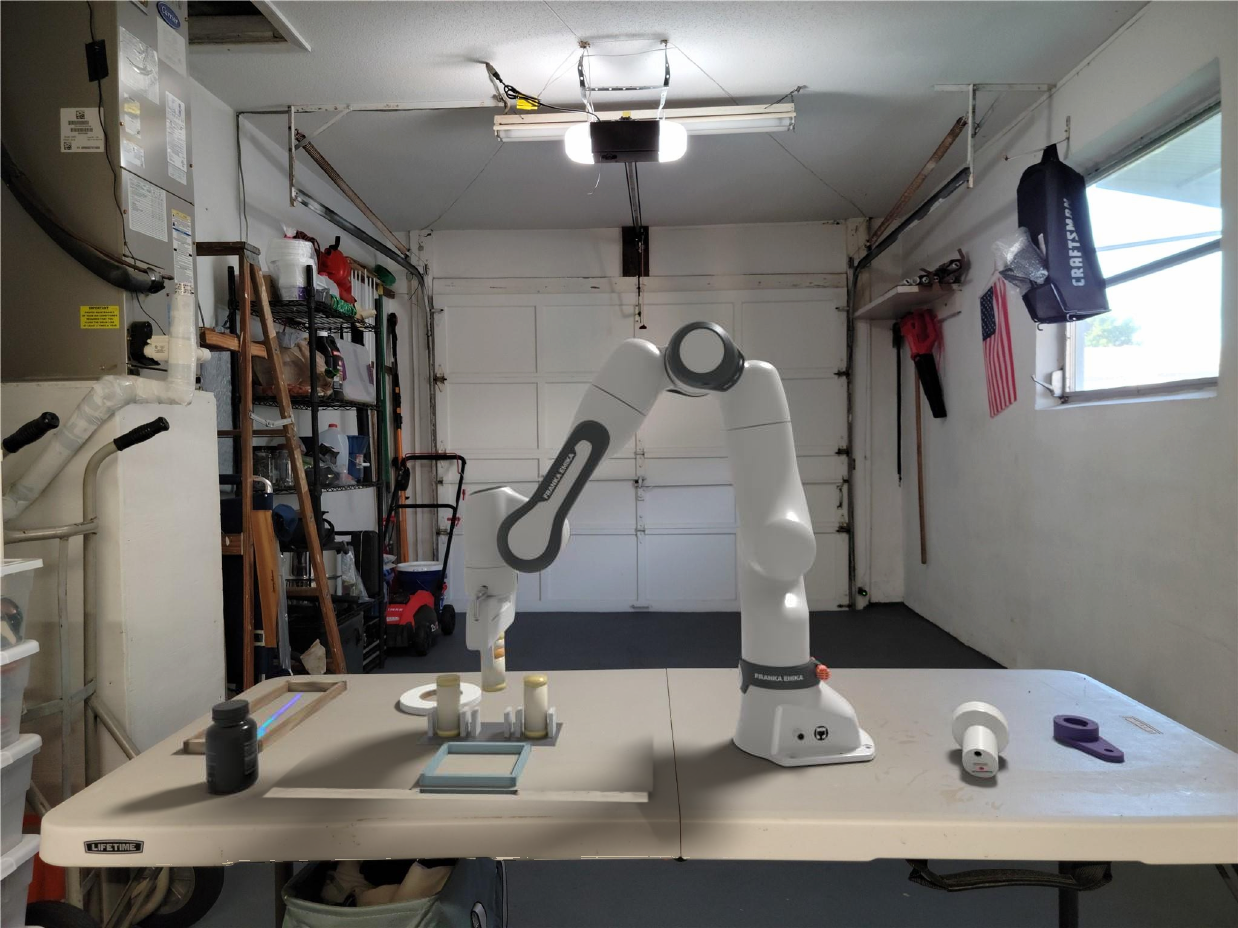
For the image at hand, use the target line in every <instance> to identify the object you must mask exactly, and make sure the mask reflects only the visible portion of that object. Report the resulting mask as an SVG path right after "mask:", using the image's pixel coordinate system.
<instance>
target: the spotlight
mask: <svg viewBox="0 0 1238 928" xmlns="http://www.w3.org/2000/svg"><path fill="white" fill-rule="evenodd" d="M1009 731H1010V730H1009V723H1008V721H1007V719H1006V717H1005V715H1004V714H1003V713H1002V712H1001V711H1000V710H999V709H997V708H996V707H995V706H993V705H991V704H990V703H989V704H988V703H986V702H981V701H975V700H974V701H973V700H972V701H969V702H964V703H962V704H961V705H959V706H957V707H956V708H955V710H954V712H953V714H952V715H951V735H952V737H953V739H954V741H955V743H956V744H957V746H959V748H961V749H962V765H963V767H964V769H965V770H966V771H967V772H968V773H969V774H970V775H973V777H980V778H984V779H987V778H992V777H994V776H995V775H996V774H997V772H998V771H999V756H998V755H999V754H1002V753H1003V752H1004V751H1005V750H1006V748H1007V747H1008V745H1009V743H1010V741H1009V737H1010V736H1009V735H1010V733H1009Z"/></svg>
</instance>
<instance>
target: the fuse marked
mask: <svg viewBox="0 0 1238 928" xmlns="http://www.w3.org/2000/svg"><path fill="white" fill-rule="evenodd" d="M493 649H494V655H495V665H494V666H493V668H484V667H483V658H482V655H481V654H480V670H481V671H480V674H481V676H480V677H481V692H485V693H497V692H501V691H504V690H505V689H506V657H505V656H506V654H505V653H506V652H505V631H503V633H502V634H501V636H500V637H499V638H498V639H497V640H496V641H495V642H494V647H493Z"/></svg>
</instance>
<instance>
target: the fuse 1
mask: <svg viewBox="0 0 1238 928" xmlns="http://www.w3.org/2000/svg"><path fill="white" fill-rule="evenodd" d="M435 682H436V695H435V696H436V701H437V735H438V736H439V737H443V738H448V737H454V736H457V735H459V734H460V712H461V711H462V710H461V693H460V682H461V675H460V674H457V673H447V674H441V675H439V676H437V677H436V679H435Z"/></svg>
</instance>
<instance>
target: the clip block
mask: <svg viewBox="0 0 1238 928" xmlns="http://www.w3.org/2000/svg"><path fill="white" fill-rule="evenodd" d="M506 707H507V708H506V709H505V711H504V712H503V721H481V719H482V718H481V715H482V714H481V706H475V707H474V708H473V710H472V711H471V710H470V709H471V707H464V709H463V710H461V712H460V734H459V735H457V736H454V737H448V738H443V737H439V736H438V735H437V706H433V707H432V708H431V709H430V711H429V712H428V713H427V714H428V716H427V731H426V732H425V733H424V735H423V736H422V737H421V738H420V739H419V740H418V742H417V743H416V744H415V746H442V745H443V744H444V743H445V742H503V743H531V747H555V746H556V744H557V741H558V739H559V735H560V733H561V730H562V728H563V725H564V722H556V721H557V717H556V716H557V714H556V711H557V710H556V706H551V707H550V708H549V710H548V712H547V714H548V734H547V735H546V736H544V737H541V738H528V737H526V736H524V706H518V707H517V709H516V710H515V713H514V715H515V716H514V717H515V719H514V721H513V718H514V717H513V706H506Z"/></svg>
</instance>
